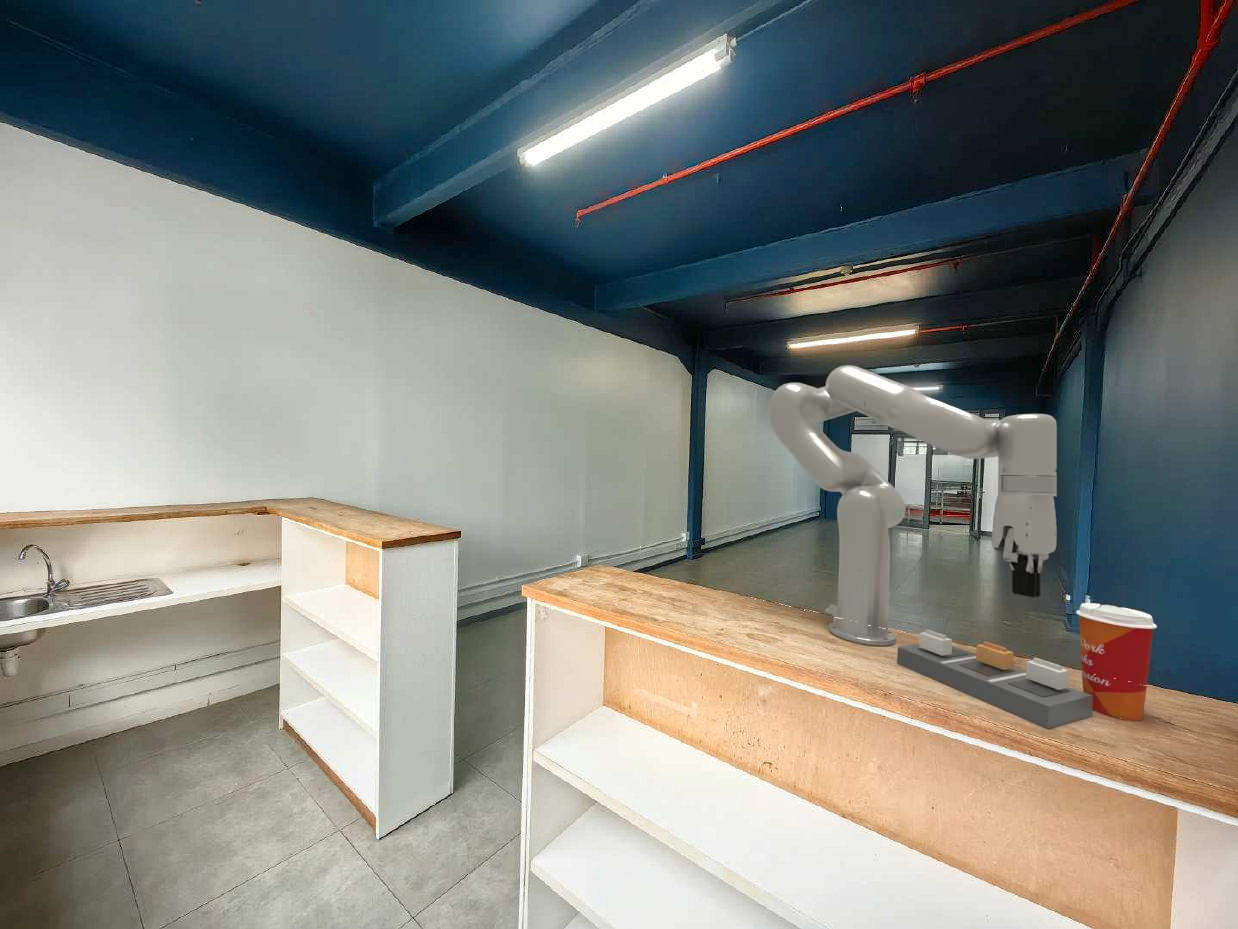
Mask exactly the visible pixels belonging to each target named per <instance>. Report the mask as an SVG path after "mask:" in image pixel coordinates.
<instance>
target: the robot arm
mask: <svg viewBox="0 0 1238 929" xmlns="http://www.w3.org/2000/svg"><path fill="white" fill-rule="evenodd" d="M855 412H858V413H860V414H863V415H864V416H866V417H868V418H871V419H873V420H876V421H877V422H879V423H882V424H883V425H885V426H887V427H890V428H891V429H896V430H898V431H900V432H903V433H905V434H907V435H909V436H911V437H913V438H915V439H917V440H920V441H922V442H924V443H926V444H929V445H931V446H932V447H935V448H937V449H939V450H941V451H944V452H945V453H948V454H951V455H953V456H957V457H962V458H965V459H971V460H978V459H979V460H980V459H987V458H996V457H998V458H997V460H998V461H997V464H998V465H997V467H998V468H997V469H998V470H997V471H998V472H997V496H996V500H995V503H994V510H993V521H992V528H991V529H992V531H991V548H992V549H993V550H995V551H997V552H1003V554H1002V559H1003V561H1007V562H1009V564H1010V570H1011V571H1012V574H1011V575H1012V577H1011V578H1012V580H1011V582H1012V583H1011V586H1012V588H1011V590H1012V593H1013V594H1014V595H1019V596H1024V597H1029V598H1037V597H1038V598H1039V597H1041V573H1042V571H1043V563H1044V561H1046V560H1048V559H1049V557H1050V556H1049V555H1050V554H1051V553H1054V552H1055V551H1056V548H1057V537H1058V536H1057V535H1058V532H1057V517H1056V516H1057V515H1056V508H1055V507H1056V506H1055V500H1054V497H1057V495H1058V494H1057V486H1058V485H1057V482H1058V479H1057V474H1058V473H1057V471H1058V469H1057V458H1058V457H1057V452H1058V451H1057V448H1058V447H1057V443H1058V442H1057V441H1058V440H1057V436H1058V435H1057V434H1058V433H1057V431H1058V430H1057V429H1058V428H1057V420H1056V419H1055V418H1054V416H1052V415H1050V414H1045V413H1023V414H1020V413H1019V414H1015V415H1014V414H1013V415H1008V416H1005V417H1003V418H1001V419H1000V420H999V419H986V418H983V417H980V416H978V415H976V414H973V413H970V412H968V411H966V410H963V409H960V408H958V407H955V406H953V405H949V404H948V403H945V402H942V401H940V400H938V399H934V398H932V397H930V396H927V395H925V394H923V393H921V392H919V391H918V390H916V388H913V387H911V386H908V385H906V384H903V383H900V382H899V381H898V382H897V381H895V380H893V379H890V378H887V377H885V376H882V375H879V374H877V373H874V372H872V371H869V370H867V369H865V368H861V367H860V366H856V365H850V364H847V365H840V366H838V367H836V368H835V369H833V370H832V371H831V372H830V373H829V375H828V376H827V378H826V381H825V386H822V387H819V388H817V387H815V386H811V385H808V384H805V383H802V382H788V383H784V384H782V385H780V386H779V387H778V388H777V389H775V391H774V392H773V394H772V396H771V398H770V401H769V406H768V418H769V424H770V426H771V429H772V431H773V432H774V434H775V436H776V437H777V439H778V440H779V442H780V443H781V444H782V445H783V446H784V447H785V448H786V450H788V451H789V453H791V455H792V456H793V458H794V460H796V461H797V463H798V464H799V465H800V467H802V468H803V470H804V471H805V472H806V474H808V475H809V477H810V478H811V479H812V481H813V482H815V484H816V485H817V486H818V487H819V488H821V489H822V490H825V491H828V492H837V493H838V492H840V493H841V495H842V496H841V497H840V498H839V500H838V504H837V507H836V508H837V510H836V515H837V517H836V518H837V524H838V525H837V526H838V533H839V534H838V536H839V550H838V551H839V553H838V555H839V556H838V558H839V560H838V581H837V583H838V588H837V605H835V604H830V605H828V607H827V608H825V610H824V612H825V614H827V615H830V616H832V621H830V622H829V624H828V630H829V632H830V633H831V634H833V635H835V636H836V637H837V638H838V637H839V638H841V639H843V640H847V641H849V642H850V641H851V642H853V643H858V644H863V645H870V646H890V645H894V644H896V643H897V635H896V634H895V632H893V631H892V632H891V630H890V629H889V609H890V608H889V607H890V606H889V604H890V603H889V601H890V580H891V579H890V571H891V544H890V543H891V542H890V536H889V529H890V528H894V527H895V526H898V524H900V523H901V522H902V520H903V519H904V518H905V516H906V515H905V514H906V507H907V506H906V503H905V500H904V498H903V496H902V495H901V494H900V493H899V491H898V490H897V489H896V488H895V487H894V486H893V485H892V484H891V483H890V482H889V481H888V480H887V479H886V478H885V477H884V476H883V475H882V474H881V473H880V471H878V469H876V468H875V467H874V466H873V465H872V463H871V462H869V461H868V460H867V459H865V458H864V456H861V455H860V454H858V453H855V452H851V451H846V450H843V449H841V448H840V447H838V446H837V445H836V444H835V443H834V442H833V441H832V440H831V439H830V438H829V437H828V436H827V435H826V434H825V433H824V431H823V430H821V428H819V427H818V426H817V425H815V423H819V422H825V421H828V420H832V419H835V418H838V417H841V416H844V415H845V416H846V415H849V414H851V413H855ZM833 616H834V617H839V618H843V619H838V618H834V617H833ZM850 620H852V621H850ZM855 621H857V622H855ZM868 625H871V626H868ZM879 627H881V628H879ZM882 628H886V629H882ZM887 629H888V630H887ZM889 630H890V631H889Z"/></svg>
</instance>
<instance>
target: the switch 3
mask: <svg viewBox="0 0 1238 929" xmlns="http://www.w3.org/2000/svg"><path fill="white" fill-rule="evenodd" d="M1040 662H1042V663H1040ZM1025 666H1026V668H1025V670H1026V671H1025V672H1026V678H1027V679H1030V680H1033V681H1036V682H1038V683H1041V684H1044V685H1047V686H1049V687H1052V688H1055V689H1058V690H1060V689H1065V688H1068V687H1070V686H1069V682H1070V670H1069V669H1065V668H1063V666H1062V665H1060V664H1056V663H1053V662H1050V661H1047V660H1044V659H1041V658H1038V657H1033V659H1032V660H1029V661H1026V665H1025ZM1058 666H1059V667H1058Z"/></svg>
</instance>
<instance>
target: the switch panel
mask: <svg viewBox="0 0 1238 929" xmlns="http://www.w3.org/2000/svg"><path fill="white" fill-rule="evenodd" d="M896 656H897V657H896V664H898V665H900V666H902V667H904V668H907V669H908V670H911V671H913V672H914V673H915V672H916V673H918V674H920V675H922V676H925V677H928V678H930V679H932V680H934V681H936V682H938V683H940V684H941V683H942V684H944V685H946V686H949V687H950V688H952V687H953V689H955V688H956V689H955V690H957V691H959V690H960V691H959V692H962V693H963V694H966V693H967V694H966V695H969V696H971V697H974V698H975V699H978V700H980V701H983V702H984V703H985V702H986V703H988V704H989V705H992V706H995V707H997V708H998V709H1002V710H1004V711H1006V712H1008V713H1011V714H1013V715H1015V716H1017V717H1020V718H1021V719H1025V720H1026V721H1029V722H1032V723H1034V724H1036V725H1038V726H1041V727H1043V728H1045V729H1048V730H1050V729H1052V728H1053V729H1054V728H1056V727H1059V726H1062V725H1066V724H1070V723H1073V722H1077V721H1081V720H1084V719H1087V718H1092V717H1093V710H1092V708H1093V695H1090V694H1087V693H1085V692H1083V690H1080V689H1079V690H1078V689H1076V688H1072V687H1070V686H1069V687H1068V688H1065V689H1060V690H1058V689H1055V688H1052V687H1049V686H1047V685H1044V684H1041V683H1038V682H1036V681H1033V680H1030V679H1027V678H1026V671H1025V670H1022V669H1019V668H1016V667H1014V666H1013V668H1011V669H1006V670H1002V669H1000V668H997V667H994V666H991V665H989V664H986V663H983V662H980V661H978V660H976V653H974V652H971V651H968V650H966V649H962V648H959V647H957V646H954V645H952V654H949V655H943V656H942V655H939V654H936V653H934V652H931V651H929V650H926V649H923V648H921V647H919V643H917V644H916V643H915V644H914V643H913V644H909V645H901V646H900V645H899V646H897V655H896Z"/></svg>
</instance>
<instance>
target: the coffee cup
mask: <svg viewBox="0 0 1238 929" xmlns="http://www.w3.org/2000/svg"><path fill="white" fill-rule="evenodd" d="M1075 613H1076V614H1077V615H1078V617H1079V618H1078V620H1079V622H1078V623H1079V639H1080V640H1079V643H1080V644H1079V645H1080V661H1081V662H1080V663H1081V680H1082V692H1085V693H1087V694H1090V695H1093V708H1092V711H1095V712H1097V711H1098V712H1097V713H1099V712H1100V713H1099V714H1102V715H1105V716H1108V717H1111V718H1115V719H1118V718H1122V719H1121V720H1123V719H1125V720H1124V721H1128V720H1129V721H1130V722H1131V721H1132V722H1140V721H1142V720H1143V717H1144V716H1143V715H1144V712H1145V711H1144V710H1145V705H1146V704H1145V703H1146V696H1147V695H1146V694H1147V687H1148V686H1143V685H1148V678H1149V668H1150V662H1151V661H1150V660H1151V653H1152V652H1151V650H1152V642H1153V633H1154V629H1157V627H1158V626H1157V624H1155V623H1154V619H1153V616H1152V615H1151V614H1149V613H1146V612H1144V611H1140V610H1138V609H1137V610H1136V609H1131V608H1127V607H1123V606H1122V607H1120V606H1119V607H1118V606H1116V605H1111V604H1110V605H1109V604H1101V603H1093V602H1083V603H1080V605H1079V609H1077V610H1076V611H1075ZM1094 674H1096V675H1094ZM1114 678H1116V679H1114ZM1128 681H1131V682H1128ZM1140 684H1141V685H1140ZM1129 721H1128V722H1129Z"/></svg>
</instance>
